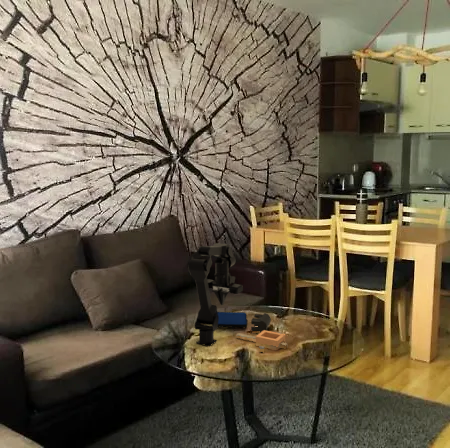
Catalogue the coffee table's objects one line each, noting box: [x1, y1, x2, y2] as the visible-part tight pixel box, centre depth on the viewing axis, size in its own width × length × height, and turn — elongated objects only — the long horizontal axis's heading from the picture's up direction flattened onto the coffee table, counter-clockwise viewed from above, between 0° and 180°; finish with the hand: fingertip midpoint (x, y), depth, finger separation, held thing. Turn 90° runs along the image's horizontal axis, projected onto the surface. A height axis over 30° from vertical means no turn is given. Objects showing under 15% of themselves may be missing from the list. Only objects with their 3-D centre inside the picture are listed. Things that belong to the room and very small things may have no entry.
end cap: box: [250, 312, 272, 332], centre depth 250 cm, size 10×7×7 cm
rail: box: [236, 331, 288, 349], centre depth 236 cm, size 18×23×2 cm
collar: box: [255, 330, 286, 347], centre depth 234 cm, size 8×10×4 cm
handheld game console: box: [217, 311, 248, 328], centre depth 256 cm, size 16×13×9 cm
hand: (222, 304), depth 252 cm, fingers closed
